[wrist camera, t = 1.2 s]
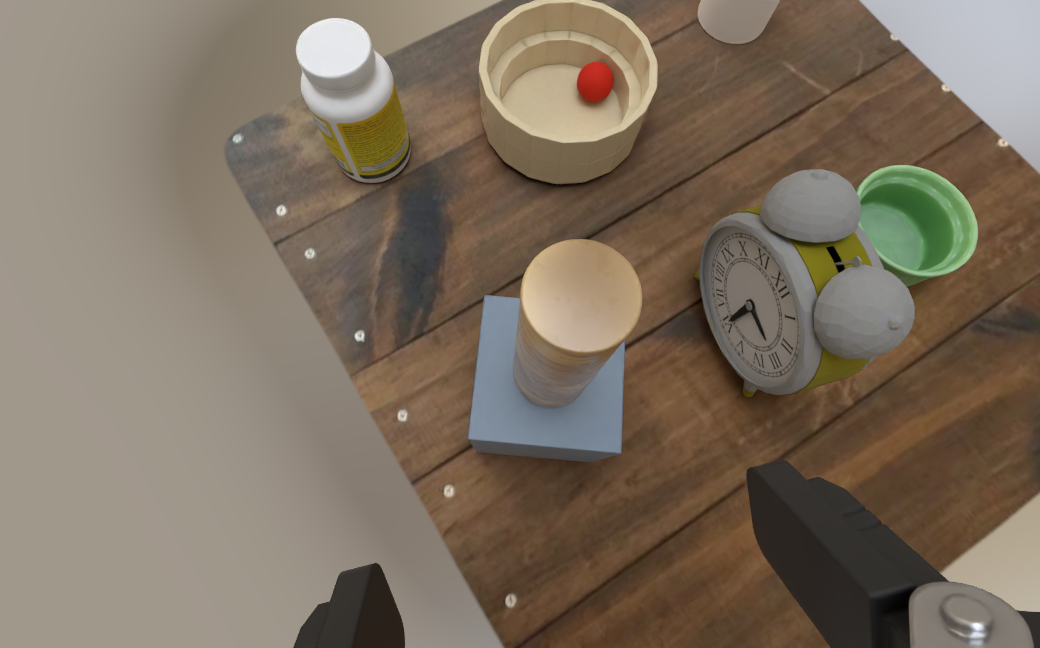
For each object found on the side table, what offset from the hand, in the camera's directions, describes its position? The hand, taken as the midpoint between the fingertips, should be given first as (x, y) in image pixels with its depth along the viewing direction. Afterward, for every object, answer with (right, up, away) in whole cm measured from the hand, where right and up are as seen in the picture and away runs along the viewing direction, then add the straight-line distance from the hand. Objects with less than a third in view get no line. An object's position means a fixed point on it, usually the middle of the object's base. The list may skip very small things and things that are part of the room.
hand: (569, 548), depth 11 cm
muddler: (+1, +2, +17) cm, 18 cm away
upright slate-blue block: (0, -1, +27) cm, 27 cm away
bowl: (+2, +22, +34) cm, 41 cm away
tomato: (+5, +25, +33) cm, 41 cm away
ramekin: (+27, +11, +32) cm, 43 cm away
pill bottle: (-13, +19, +33) cm, 40 cm away
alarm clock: (+16, +4, +29) cm, 34 cm away
